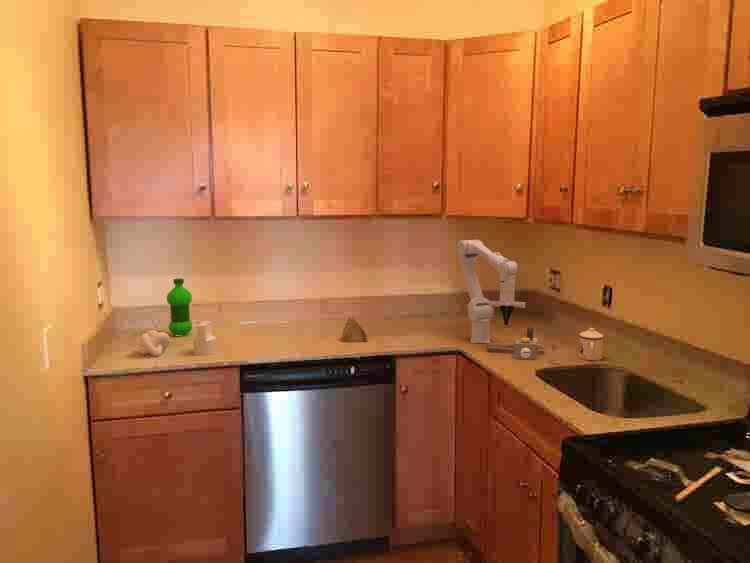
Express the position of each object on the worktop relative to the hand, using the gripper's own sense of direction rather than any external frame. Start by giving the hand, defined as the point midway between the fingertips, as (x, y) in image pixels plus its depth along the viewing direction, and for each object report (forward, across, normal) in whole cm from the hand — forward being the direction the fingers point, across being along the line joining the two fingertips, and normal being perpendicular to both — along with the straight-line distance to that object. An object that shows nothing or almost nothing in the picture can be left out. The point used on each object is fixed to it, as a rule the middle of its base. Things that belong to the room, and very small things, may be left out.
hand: (506, 324), depth 254 cm
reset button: (+5, +7, -10) cm, 14 cm away
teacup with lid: (+11, +32, -8) cm, 35 cm away
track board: (+10, +4, -1) cm, 11 cm away
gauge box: (+10, +7, -10) cm, 16 cm away
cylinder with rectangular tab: (+11, -118, -25) cm, 121 cm away
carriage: (+9, +9, -1) cm, 13 cm away
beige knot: (+11, -138, -30) cm, 142 cm away
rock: (+11, -63, +3) cm, 64 cm away
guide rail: (+9, +4, -1) cm, 10 cm away
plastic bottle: (+11, -141, +1) cm, 141 cm away
